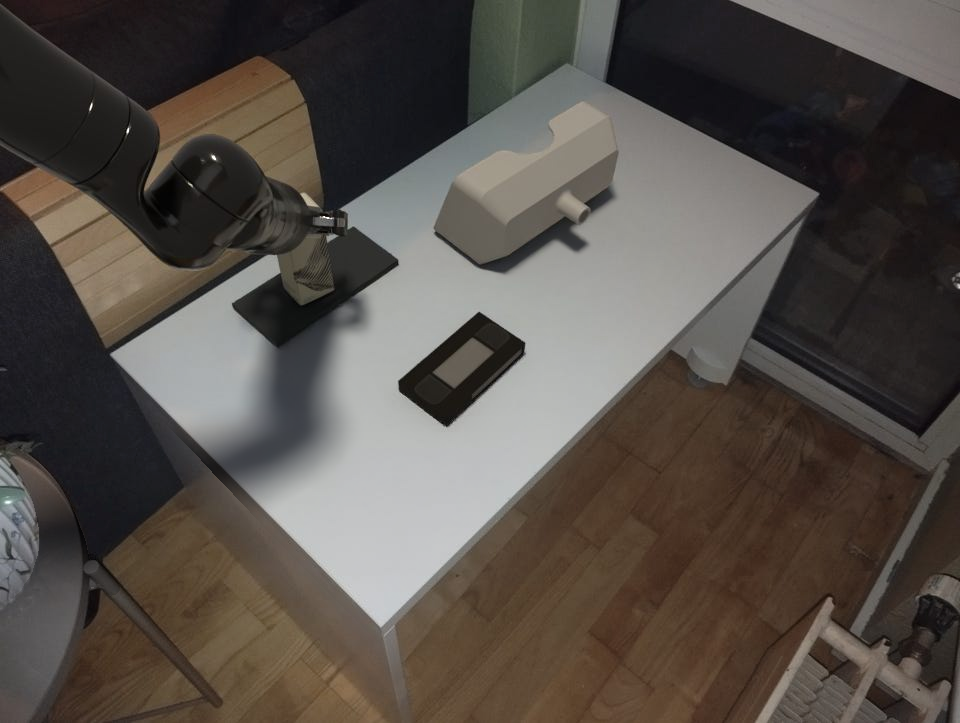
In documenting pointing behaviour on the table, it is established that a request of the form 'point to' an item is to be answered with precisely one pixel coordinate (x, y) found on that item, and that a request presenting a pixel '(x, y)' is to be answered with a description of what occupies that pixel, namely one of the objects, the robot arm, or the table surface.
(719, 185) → the table surface
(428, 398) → the vhs tape
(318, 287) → the box
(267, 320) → the scrub mat
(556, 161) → the tank
